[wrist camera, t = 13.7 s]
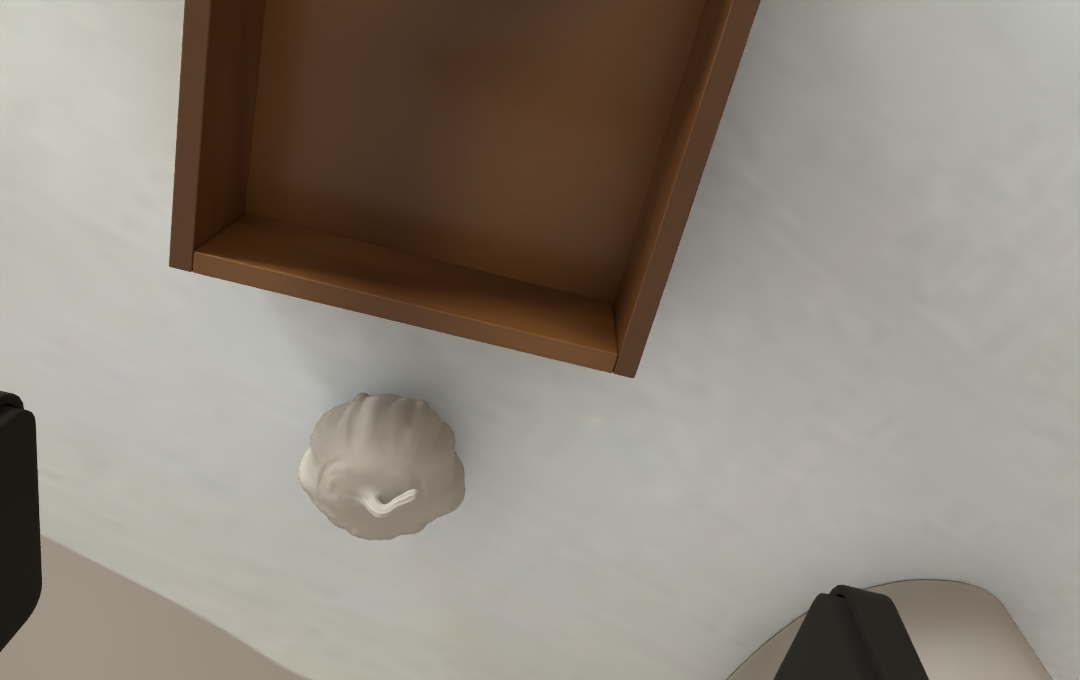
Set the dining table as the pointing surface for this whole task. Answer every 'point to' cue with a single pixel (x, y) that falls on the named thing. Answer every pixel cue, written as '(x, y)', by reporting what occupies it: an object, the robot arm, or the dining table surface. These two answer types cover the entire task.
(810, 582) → the dining table surface
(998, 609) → the lumpy-topped squat cylinder
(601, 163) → the wooden tray
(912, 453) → the dining table surface
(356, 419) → the garlic
